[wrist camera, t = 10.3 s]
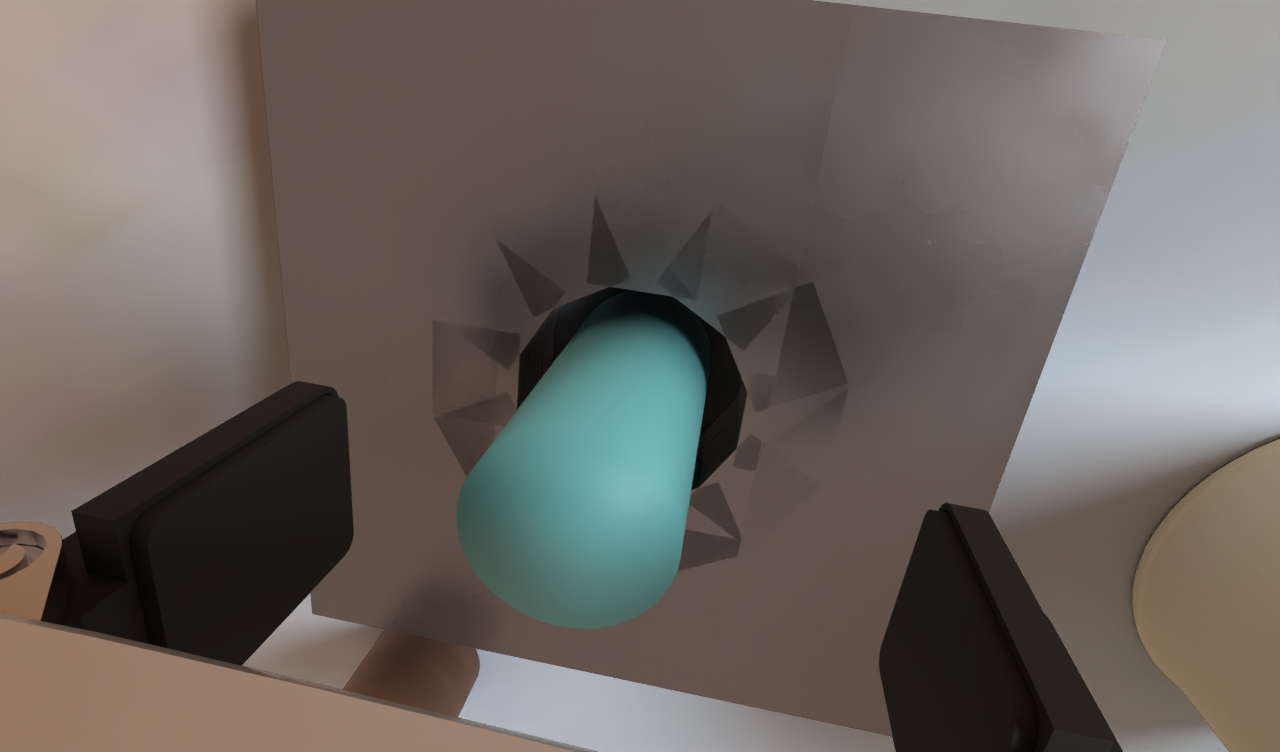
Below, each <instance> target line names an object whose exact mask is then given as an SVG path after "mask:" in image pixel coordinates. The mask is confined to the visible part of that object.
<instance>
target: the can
mask: <svg viewBox="0 0 1280 752" xmlns="http://www.w3.org/2000/svg"><path fill="white" fill-rule="evenodd" d="M1132 604H1133V615H1134V620H1135V624H1136V627H1137V631H1138V634H1139V637H1140V639H1141V642H1142V644H1143V646H1144V648H1145V650H1146V651H1147V653H1148V654H1149V656H1150V658H1151V659H1152V660H1153V662H1154V663H1155V664H1156V665H1157V667H1158V668H1159V669H1160V670H1161V671H1162V672H1163V674H1164V675H1165V676H1167V677H1168V678H1169V679H1170V680H1171V681H1172V682H1173V683H1174V684H1175V685H1177V686H1178V687H1179V688H1180V689H1181V690H1182V691H1183V693H1184V694H1185V695H1186V697H1187V698H1188V699H1189V700H1190V702H1191V703H1192V704H1193V705H1194V707H1195V708H1196V709H1197V710H1198V712H1199V713H1200V714H1201V716H1202V717H1203V718H1204V719H1205V721H1206V722H1207V723H1208V725H1209V726H1210V727H1211V729H1212V730H1213V731H1214V733H1215V734H1216V735H1217V737H1218V738H1219V739H1220V741H1221V742H1222V743H1223V745H1224V746H1225V747H1226V749H1227V750H1228V751H1229V752H1280V439H1278V440H1276V441H1273V442H1271V443H1268V444H1266V445H1263V446H1261V447H1258V448H1256V449H1254V450H1252V451H1250V452H1248V453H1246V454H1245V455H1243V456H1241V457H1239V458H1237V459H1235V460H1233V461H1232V462H1230V463H1228V464H1227V465H1225V466H1223V467H1222V468H1220V469H1219V470H1217V471H1216V472H1214V473H1212V474H1211V475H1210V476H1208V477H1207V478H1206V479H1205V480H1203V481H1202V482H1201V483H1199V484H1198V485H1197V486H1196V487H1194V488H1193V489H1192V490H1191V491H1189V492H1188V493H1187V494H1186V495H1185V496H1184V497H1183V498H1182V499H1181V500H1180V501H1179V502H1178V503H1177V504H1176V505H1175V506H1174V507H1173V508H1172V509H1171V511H1170V512H1169V513H1168V514H1167V515H1166V517H1165V518H1164V519H1163V521H1162V522H1161V523H1160V525H1159V526H1158V527H1157V529H1156V530H1155V532H1154V533H1153V535H1152V537H1151V538H1150V540H1149V542H1148V543H1147V545H1146V547H1145V549H1144V552H1143V554H1142V556H1141V559H1140V562H1139V564H1138V567H1137V570H1136V574H1135V579H1134V584H1133V595H1132Z"/></svg>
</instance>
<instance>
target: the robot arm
mask: <svg viewBox="0 0 1280 752" xmlns="http://www.w3.org/2000/svg"><path fill="white" fill-rule="evenodd" d="M71 512H72V516H73V520H74V524H75V528H76V532H75V533H73V534H72V535H70V536H68V537H67V538H65V539H63V540H62V536H61V534H60V533H59V532H58V531H57V530H56V529H55V528H54V527H51V526H48V525H44V524H41V523H32V522H13V523H2V524H0V752H597V751H593V750H589V749H585V748H581V747H576V746H572V745H568V744H564V743H560V742H556V741H552V740H548V739H544V738H540V737H535V736H531V735H527V734H523V733H519V732H515V731H511V730H507V729H503V728H499V727H494V726H490V725H486V724H482V723H478V722H474V721H470V720H466V719H462V718H458V717H453V716H449V715H445V714H441V713H437V712H433V711H429V710H424V709H420V708H416V707H412V706H408V705H404V704H400V703H395V702H391V701H387V700H383V699H379V698H375V697H371V696H367V695H362V694H358V693H354V692H350V691H346V690H341V689H337V688H333V687H329V686H324V685H320V684H316V683H312V682H308V681H303V680H299V679H295V678H291V677H286V676H282V675H278V674H274V673H269V672H265V671H261V670H257V669H253V668H248V667H244V666H242V665H243V664H244V663H245V662H246V660H247V659H248V658H249V657H250V656H251V655H252V654H253V653H254V652H255V651H256V650H257V649H258V648H259V647H260V646H261V644H262V643H263V642H264V641H265V640H266V639H267V638H268V637H269V636H270V635H271V634H272V633H273V632H274V631H275V630H276V629H277V627H278V626H279V625H280V624H281V623H282V622H283V621H284V620H285V619H286V618H287V617H288V616H289V615H290V614H291V613H292V612H293V610H294V609H295V608H296V607H297V606H298V605H299V604H300V603H301V602H302V601H303V600H304V599H305V598H306V597H307V596H308V594H309V593H310V592H311V591H312V590H313V589H314V588H315V587H316V586H317V585H318V584H319V583H320V582H321V581H322V580H323V579H324V577H325V576H326V575H327V574H328V573H329V572H330V571H331V570H332V569H333V568H334V567H335V566H336V565H337V564H338V563H339V561H340V560H341V559H342V558H343V557H344V556H345V555H346V554H347V552H348V551H349V549H350V547H351V544H352V541H353V536H354V527H353V509H352V492H351V474H350V456H349V439H348V421H347V407H346V403H345V401H344V399H343V398H341V397H339V396H338V393H337V391H336V390H335V389H334V388H333V387H329V386H324V385H318V384H313V383H308V382H302V381H296V382H293V383H291V384H290V385H288V386H286V387H284V388H283V389H281V390H279V391H278V392H276V393H274V394H272V395H271V396H269V397H267V398H266V399H264V400H262V401H260V402H259V403H257V404H255V405H254V406H252V407H250V408H248V409H247V410H245V411H243V412H241V413H240V414H238V415H236V416H235V417H233V418H231V419H229V420H228V421H226V422H224V423H223V424H221V425H219V426H217V427H216V428H214V429H212V430H210V431H209V432H207V433H205V434H204V435H202V436H200V437H198V438H197V439H195V440H193V441H192V442H190V443H188V444H186V445H185V446H183V447H181V448H179V449H178V450H176V451H174V452H173V453H171V454H169V455H167V456H166V457H164V458H162V459H161V460H159V461H157V462H155V463H154V464H152V465H150V466H148V467H147V468H145V469H143V470H142V471H140V472H138V473H136V474H135V475H133V476H131V477H130V478H128V479H126V480H124V481H123V482H121V483H119V484H118V485H116V486H114V487H112V488H111V489H109V490H107V491H105V492H104V493H102V494H100V495H99V496H97V497H95V498H93V499H92V500H90V501H88V502H87V503H85V504H83V505H81V506H80V507H78V508H76V509H74V510H73V511H71ZM879 671H880V676H881V681H882V686H883V691H884V696H885V701H886V706H887V711H888V716H889V721H890V726H891V731H892V736H893V741H894V746H895V751H896V752H1123V751H1122V749H1121V747H1120V745H1119V744H1118V742H1117V740H1116V738H1115V736H1114V735H1113V733H1112V731H1111V729H1110V727H1109V726H1108V724H1107V722H1106V720H1105V718H1104V717H1103V715H1102V713H1101V711H1100V709H1099V708H1098V706H1097V704H1096V702H1095V700H1094V699H1093V697H1092V695H1091V693H1090V691H1089V690H1088V688H1087V686H1086V684H1085V682H1084V681H1083V679H1082V677H1081V675H1080V673H1079V672H1078V670H1077V668H1076V666H1075V664H1074V663H1073V661H1072V659H1071V657H1070V655H1069V654H1068V652H1067V650H1066V648H1065V646H1064V645H1063V643H1062V641H1061V639H1060V637H1059V636H1058V634H1057V632H1056V630H1055V628H1054V626H1053V625H1052V623H1051V621H1050V620H1049V619H1048V618H1047V616H1046V615H1045V614H1044V613H1043V611H1042V609H1041V607H1040V605H1039V604H1038V602H1037V600H1036V598H1035V596H1034V594H1033V593H1032V591H1031V589H1030V587H1029V585H1028V584H1027V582H1026V580H1025V578H1024V576H1023V574H1022V573H1021V571H1020V569H1019V567H1018V565H1017V564H1016V562H1015V560H1014V558H1013V556H1012V554H1011V553H1010V551H1009V549H1008V547H1007V545H1006V544H1005V542H1004V540H1003V538H1002V536H1001V534H1000V533H999V531H998V529H997V527H996V525H995V524H994V522H993V520H992V518H991V516H990V515H989V513H988V512H987V511H986V510H982V509H977V508H972V507H966V506H961V505H956V504H951V503H944V504H942V506H941V507H940V508H939V510H938V511H936V510H931V509H930V510H928V511H927V513H926V514H925V516H924V519H923V522H922V525H921V528H920V531H919V534H918V537H917V540H916V543H915V546H914V549H913V552H912V555H911V558H910V561H909V564H908V567H907V570H906V573H905V576H904V579H903V582H902V585H901V588H900V591H899V594H898V597H897V600H896V603H895V606H894V609H893V612H892V615H891V618H890V621H889V624H888V627H887V630H886V633H885V636H884V639H883V642H882V645H881V648H880V654H879Z"/></svg>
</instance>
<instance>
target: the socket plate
mask: <svg viewBox="0 0 1280 752" xmlns="http://www.w3.org/2000/svg"><path fill="white" fill-rule="evenodd" d="M256 8H257V19H258V29H259V40H260V51H261V62H262V73H263V84H264V94H265V105H266V116H267V127H268V138H269V149H270V159H271V170H272V181H273V192H274V203H275V214H276V224H277V235H278V246H279V257H280V268H281V279H282V289H283V300H284V311H285V322H286V333H287V344H288V354H289V365H290V376H291V383H293V382H296V381H302V382H308V383H313V384H318V385H324V386H329V387H333V388H334V389H335V390H336V391H337V393H338V396H339V397H341V398H343V399H344V401H345V403H346V407H347V421H348V439H349V456H350V474H351V492H352V509H353V527H354V536H353V541H352V544H351V547H350V549H349V551H348V552H347V554H346V555H345V556H344V557H343V558H342V559H341V560H340V561H339V563H338V564H337V565H336V566H335V567H334V568H333V569H332V570H331V571H330V572H329V573H328V574H327V575H326V576H325V577H324V579H323V580H322V581H321V582H320V583H319V584H318V585H317V586H316V587H315V588H314V589H313V590H312V591H311V592H310V593H311V604H312V614H316V615H320V616H325V617H330V618H335V619H339V620H344V621H349V622H353V623H358V624H363V625H368V626H372V627H377V628H382V629H387V630H391V631H396V632H401V633H406V634H410V635H415V636H420V637H425V638H429V639H434V640H439V641H443V642H448V643H453V644H458V645H462V646H467V647H472V648H477V649H481V650H486V651H491V652H496V653H500V654H505V655H510V656H514V657H519V658H524V659H529V660H533V661H538V662H543V663H548V664H552V665H557V666H562V667H567V668H571V669H576V670H581V671H586V672H590V673H595V674H600V675H604V676H609V677H614V678H619V679H623V680H628V681H633V682H638V683H642V684H647V685H652V686H657V687H661V688H666V689H671V690H675V691H680V692H685V693H690V694H694V695H699V696H704V697H709V698H713V699H718V700H723V701H728V702H732V703H737V704H742V705H747V706H751V707H756V708H761V709H765V710H770V711H775V712H780V713H784V714H789V715H794V716H799V717H803V718H808V719H813V720H818V721H822V722H827V723H832V724H836V725H841V726H846V727H851V728H855V729H860V730H865V731H870V732H874V733H879V734H884V735H889V736H892V731H891V726H890V721H889V716H888V711H887V706H886V701H885V696H884V691H883V686H882V681H881V676H880V671H879V654H880V648H881V645H882V642H883V639H884V636H885V633H886V630H887V627H888V624H889V621H890V618H891V615H892V612H893V609H894V606H895V603H896V600H897V597H898V594H899V591H900V588H901V585H902V582H903V579H904V576H905V573H906V570H907V567H908V564H909V561H910V558H911V555H912V552H913V549H914V546H915V543H916V540H917V537H918V534H919V531H920V528H921V525H922V522H923V519H924V516H925V514H926V513H927V511H928V510H930V509H931V510H936V511H938V510H939V508H940V507H941V506H942V504H944V503H951V504H956V505H961V506H966V507H972V508H977V509H982V510H986V511H987V512H989V510H990V507H991V504H992V502H993V499H994V497H995V494H996V491H997V489H998V486H999V483H1000V481H1001V478H1002V475H1003V473H1004V470H1005V467H1006V465H1007V462H1008V460H1009V457H1010V454H1011V452H1012V449H1013V446H1014V444H1015V441H1016V438H1017V436H1018V433H1019V430H1020V428H1021V425H1022V422H1023V420H1024V417H1025V415H1026V412H1027V409H1028V407H1029V404H1030V401H1031V399H1032V396H1033V393H1034V391H1035V388H1036V385H1037V383H1038V380H1039V378H1040V375H1041V372H1042V370H1043V367H1044V364H1045V362H1046V359H1047V356H1048V354H1049V351H1050V348H1051V346H1052V343H1053V341H1054V338H1055V335H1056V333H1057V330H1058V327H1059V325H1060V322H1061V319H1062V317H1063V314H1064V311H1065V309H1066V306H1067V304H1068V301H1069V298H1070V296H1071V293H1072V290H1073V288H1074V285H1075V282H1076V280H1077V277H1078V274H1079V272H1080V269H1081V267H1082V264H1083V261H1084V259H1085V256H1086V253H1087V251H1088V248H1089V245H1090V243H1091V240H1092V237H1093V235H1094V232H1095V230H1096V227H1097V224H1098V222H1099V219H1100V216H1101V214H1102V211H1103V208H1104V206H1105V203H1106V200H1107V198H1108V195H1109V192H1110V190H1111V187H1112V185H1113V182H1114V179H1115V177H1116V174H1117V171H1118V169H1119V166H1120V163H1121V161H1122V158H1123V155H1124V153H1125V150H1126V148H1127V145H1128V142H1129V140H1130V137H1131V134H1132V132H1133V129H1134V126H1135V124H1136V121H1137V118H1138V116H1139V113H1140V111H1141V108H1142V105H1143V103H1144V100H1145V97H1146V95H1147V92H1148V89H1149V87H1150V84H1151V81H1152V79H1153V76H1154V74H1155V71H1156V68H1157V66H1158V63H1159V60H1160V58H1161V55H1162V52H1163V50H1164V47H1165V44H1166V42H1167V40H1162V39H1153V38H1144V37H1135V36H1126V35H1117V34H1108V33H1099V32H1090V31H1081V30H1072V29H1063V28H1054V27H1045V26H1037V25H1028V24H1019V23H1010V22H1001V21H992V20H983V19H974V18H965V17H956V16H947V15H938V14H929V13H920V12H911V11H902V10H893V9H884V8H875V7H866V6H857V5H848V4H839V3H831V2H822V1H813V0H256ZM608 287H614V288H621V289H627V290H634V291H640V292H646V293H653V294H659V295H666V296H672V297H675V298H676V299H678V300H679V301H680V302H681V303H683V304H684V305H685V306H687V307H688V308H689V309H690V310H692V311H693V312H694V313H695V314H697V315H698V316H699V317H701V318H702V319H703V320H704V321H706V322H707V323H708V324H710V325H711V326H712V327H713V328H715V329H716V330H717V331H719V332H720V333H721V334H722V335H724V336H725V337H726V340H727V342H728V345H729V347H730V350H731V352H732V355H733V357H734V360H735V362H736V365H737V368H738V370H739V373H740V375H741V378H742V381H741V386H740V391H739V395H738V396H737V397H736V398H735V399H734V400H733V401H732V402H731V403H730V405H729V406H728V407H727V408H726V409H725V410H724V411H723V412H722V413H721V414H720V415H719V416H718V418H717V419H716V420H715V421H714V422H713V423H712V424H711V425H710V426H709V427H708V428H707V429H706V430H703V431H700V436H699V443H698V449H697V456H696V462H695V469H694V475H693V481H692V488H691V494H690V501H689V507H688V514H687V520H686V526H685V533H684V539H683V546H682V552H681V559H680V563H679V567H678V571H677V573H676V575H675V578H674V580H673V582H672V584H671V586H670V587H669V589H668V590H667V592H666V593H665V594H664V595H663V597H662V598H661V599H660V600H659V601H658V602H657V603H656V604H655V605H653V606H652V607H651V608H650V609H649V610H647V611H646V612H644V613H642V614H641V615H639V616H637V617H635V618H633V619H631V620H628V621H626V622H623V623H620V624H617V625H613V626H608V627H602V628H589V629H582V628H569V627H563V626H557V625H553V624H549V623H546V622H543V621H540V620H537V619H535V618H532V617H530V616H528V615H526V614H524V613H522V612H519V611H518V610H516V609H515V608H513V607H511V606H510V605H508V604H507V603H505V602H504V601H503V600H501V599H500V598H499V597H497V596H496V595H495V594H494V593H493V592H492V591H491V590H490V589H489V588H488V587H487V586H486V585H485V584H484V583H483V582H482V581H481V579H480V578H479V577H478V576H477V574H476V573H475V571H474V570H473V568H472V567H471V565H470V564H469V562H468V560H467V558H466V556H465V554H464V552H463V549H462V546H461V543H460V540H459V535H458V531H457V520H456V513H457V503H458V499H459V495H460V491H461V489H462V487H463V484H464V482H465V480H466V478H467V477H468V475H469V474H470V472H471V470H472V469H473V468H474V466H475V465H476V464H477V462H478V461H479V460H480V459H481V457H482V456H483V455H484V453H485V452H486V451H487V449H488V448H489V447H490V445H491V444H492V443H493V441H494V440H495V439H496V437H497V436H498V435H499V433H500V432H501V431H502V430H503V428H504V427H505V426H506V424H507V423H508V422H509V420H510V419H511V418H512V416H513V415H514V414H515V412H516V411H517V410H518V408H519V407H520V406H521V404H522V403H523V402H524V401H525V399H526V398H527V397H528V395H529V394H530V393H531V391H532V390H533V389H534V387H535V386H536V385H537V383H538V382H539V381H540V379H541V378H542V377H543V375H544V374H545V373H546V372H547V370H548V369H549V368H550V366H551V365H552V364H553V363H552V362H553V348H554V334H555V320H556V315H557V313H558V312H559V311H560V309H561V308H562V306H563V305H565V304H567V303H570V302H572V301H575V300H577V299H580V298H582V297H585V296H588V295H590V294H593V293H595V292H598V291H600V290H603V289H605V288H608Z"/></svg>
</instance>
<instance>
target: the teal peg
mask: <svg viewBox="0 0 1280 752" xmlns="http://www.w3.org/2000/svg"><path fill="white" fill-rule="evenodd" d="M710 365H711V348H710V342H709V339H708V336H707V333H706V331H705V329H704V327H703V325H702V323H701V322H700V320H699V319H698V317H697V316H696V315H695V314H694V313H693V312H692V311H691V310H690V309H689V308H688V307H687V306H685V305H684V304H683V303H681V302H680V301H679V300H677V299H675V298H673V297H671V296H666V295H659V294H653V293H646V292H640V291H634V290H632V291H626V292H622V293H619V294H616V295H614V296H612V297H610V298H608V299H606V300H605V301H603V302H602V303H601V304H600V305H598V306H597V307H596V308H595V309H594V310H593V311H592V312H591V314H590V315H589V316H588V317H587V319H586V320H585V321H584V323H583V324H582V325H581V327H580V328H579V329H578V331H577V332H576V333H575V335H574V336H573V337H572V339H571V340H570V341H569V343H568V344H567V345H566V346H565V348H564V349H563V350H562V352H561V353H560V354H559V356H558V357H557V358H556V360H555V361H554V362H553V364H552V365H551V366H550V368H549V369H548V370H547V372H546V373H545V374H544V375H543V377H542V378H541V379H540V381H539V382H538V383H537V385H536V386H535V387H534V389H533V390H532V391H531V393H530V394H529V395H528V397H527V398H526V399H525V401H524V402H523V403H522V404H521V406H520V407H519V408H518V410H517V411H516V412H515V414H514V415H513V416H512V418H511V419H510V420H509V422H508V423H507V424H506V426H505V427H504V428H503V430H502V431H501V432H500V433H499V435H498V436H497V437H496V439H495V440H494V441H493V443H492V444H491V445H490V447H489V448H488V449H487V451H486V452H485V453H484V455H483V456H482V457H481V459H480V460H479V461H478V462H477V464H476V465H475V466H474V468H473V469H472V470H471V472H470V474H469V475H468V477H467V478H466V480H465V482H464V484H463V487H462V489H461V491H460V495H459V499H458V503H457V513H456V520H457V531H458V535H459V540H460V543H461V546H462V549H463V552H464V554H465V556H466V558H467V560H468V562H469V564H470V565H471V567H472V568H473V570H474V571H475V573H476V574H477V576H478V577H479V578H480V579H481V581H482V582H483V583H484V584H485V585H486V586H487V587H488V588H489V589H490V590H491V591H492V592H493V593H494V594H495V595H496V596H497V597H499V598H500V599H501V600H503V601H504V602H505V603H507V604H508V605H510V606H511V607H513V608H515V609H516V610H518V611H519V612H522V613H524V614H526V615H528V616H530V617H532V618H535V619H537V620H540V621H543V622H546V623H549V624H553V625H557V626H563V627H569V628H582V629H589V628H602V627H608V626H613V625H617V624H620V623H623V622H626V621H628V620H631V619H633V618H635V617H637V616H639V615H641V614H642V613H644V612H646V611H647V610H649V609H650V608H651V607H652V606H653V605H655V604H656V603H657V602H658V601H659V600H660V599H661V598H662V597H663V595H664V594H665V593H666V592H667V590H668V589H669V587H670V586H671V584H672V582H673V580H674V578H675V575H676V573H677V571H678V567H679V563H680V559H681V552H682V546H683V539H684V533H685V526H686V520H687V514H688V507H689V501H690V494H691V488H692V481H693V475H694V469H695V462H696V456H697V449H698V443H699V436H700V430H701V424H702V417H703V411H704V404H705V398H706V391H707V385H708V379H709V372H710Z"/></svg>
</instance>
